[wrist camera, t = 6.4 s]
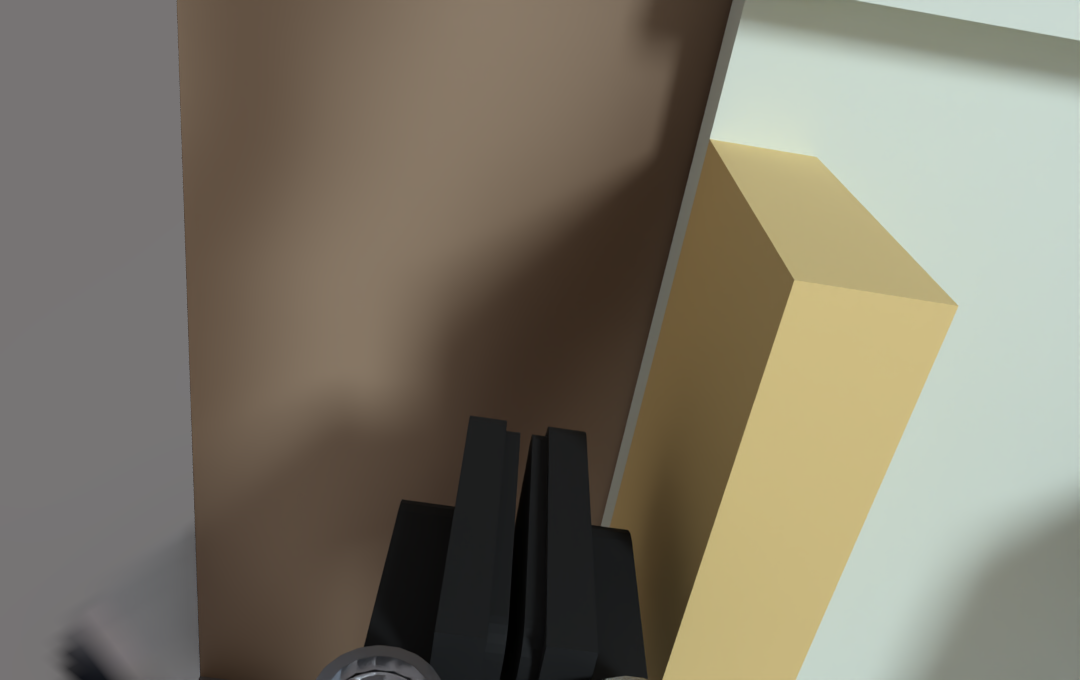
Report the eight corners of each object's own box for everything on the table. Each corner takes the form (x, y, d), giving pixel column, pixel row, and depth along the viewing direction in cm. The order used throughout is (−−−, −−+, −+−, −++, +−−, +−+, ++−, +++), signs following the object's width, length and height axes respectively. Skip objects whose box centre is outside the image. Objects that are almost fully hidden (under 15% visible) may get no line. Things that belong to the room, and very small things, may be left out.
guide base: (2064, -2, 13) (2419, 26, 11) (1305, 811, 22) (1399, 927, 20) (193, -371, 11) (92, -442, 9) (216, 676, 21) (170, 784, 18)
